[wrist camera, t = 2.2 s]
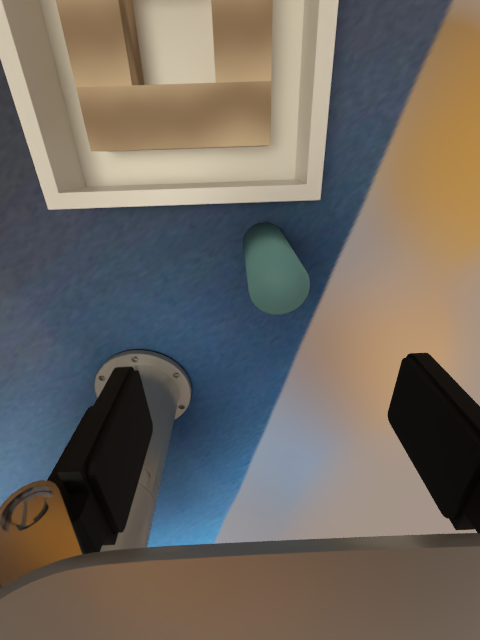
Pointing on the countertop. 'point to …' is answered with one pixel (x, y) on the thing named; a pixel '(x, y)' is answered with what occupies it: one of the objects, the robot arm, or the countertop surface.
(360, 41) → the countertop surface
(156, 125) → the bore plate
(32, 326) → the countertop surface
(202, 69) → the open box
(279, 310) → the peg
